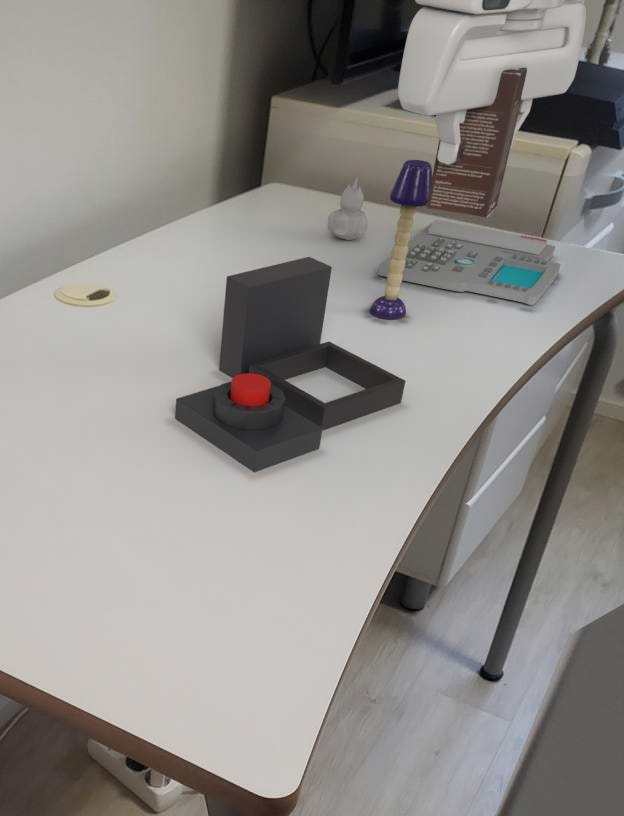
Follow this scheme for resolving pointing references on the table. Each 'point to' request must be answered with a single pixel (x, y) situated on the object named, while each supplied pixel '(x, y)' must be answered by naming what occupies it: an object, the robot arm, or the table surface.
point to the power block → (249, 427)
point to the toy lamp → (403, 232)
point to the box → (480, 153)
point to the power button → (250, 389)
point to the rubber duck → (349, 215)
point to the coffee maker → (296, 341)
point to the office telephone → (479, 262)
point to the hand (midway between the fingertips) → (473, 157)
